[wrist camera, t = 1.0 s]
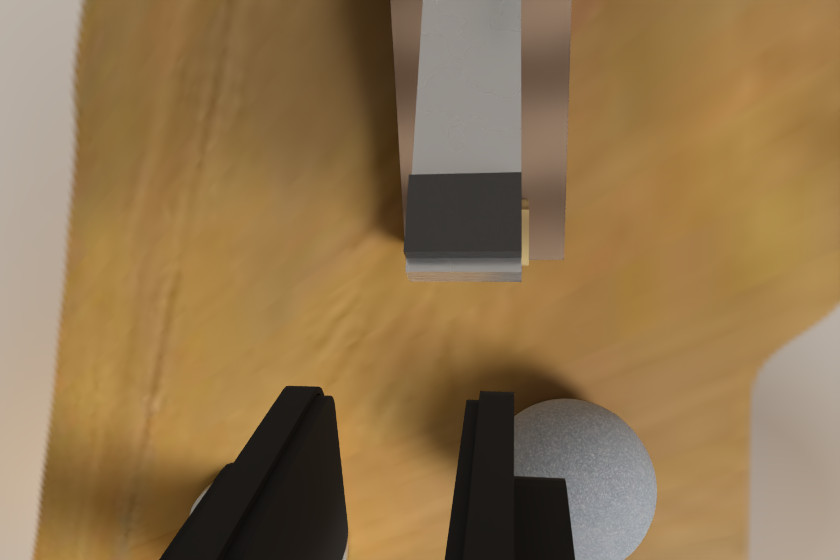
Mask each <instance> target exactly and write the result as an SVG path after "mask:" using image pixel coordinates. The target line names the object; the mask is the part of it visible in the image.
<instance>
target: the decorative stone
mask: <svg viewBox="0 0 840 560" xmlns="http://www.w3.org/2000/svg"><path fill="white" fill-rule="evenodd" d="M514 476H526V477H548V478H565V480H566V486H567V494H568V502H569V511H570V519H571V528H572V536H573V545H574V553H575V560H624V559H625V558H626V557H628V556H629V555H630V554H631V553H632V552H633V551H634V550H635V549H636V548H637V547H638V545H639V544H640V543H641V541H642V540H643V538H644V536H645V535H646V533H647V531H648V529H649V527H650V524H651V522H652V519H653V516H654V512H655V507H656V500H657V485H656V477H655V472H654V468H653V465H652V462H651V459H650V457H649V454H648V452H647V450H646V448H645V447H644V445H643V443H642V442H641V440H640V439H639V437H638V436H637V435H636V433H635V432H634V431H633V430H632V429H631V428H630V427H629V426H628V425H627V424H626V423H625V422H624V421H623V420H622V419H621V418H620V417H618V416H617V415H615V414H614V413H612V412H611V411H609V410H607V409H605V408H603V407H601V406H599V405H596V404H594V403H590V402H587V401H583V400H577V399H553V400H547V401H543V402H540V403H537V404H534V405H532V406H530V407H528V408H526V409H524V410H523V411H521V412H519V413H518V414H517V415H515V416H514Z"/></svg>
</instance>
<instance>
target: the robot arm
mask: <svg viewBox="0 0 840 560" xmlns="http://www.w3.org/2000/svg"><path fill="white" fill-rule="evenodd" d="M348 551H349V547H348V523H347V513H346V504H345V495H344V486H343V476H342V467H341V458H340V448H339V439H338V430H337V421H336V411H335V403H334V399H333V397H332V396H324V393H323V390H322V389H321V388H320V387H309V386H286V387H285V388H284V389H283V391H282V392H281V394H280V395H279V397H278V398H277V400H276V401H275V403H274V404H273V405H272V407H271V408H270V410H269V411H268V413H267V414H266V416H265V417H264V419H263V420H262V422H261V423H260V425H259V426H258V428H257V429H256V431H255V432H254V434H253V435H252V437H251V438H250V440H249V441H248V442H247V444H246V445H245V447H244V448H243V450H242V451H241V453H240V454H239V456H238V457H237V459H236V460H235V462H234V463H230V464H227V465H226V466H225V467H224V468H223V469H222V470H221V471H220V473H219V474H218V476H217V477H216V478H215V480H214V481H213V482H212V483H211V484H210V485H208V486H207V487H206V488H205V489H204V491H203V492H202V493H201V494H200V496H199V497H198V498H197V500H196V501H195V503H194V505H193V506H192V508H191V511H190V515H189V517H188V519H187V520H186V522H185V523H184V525H183V526H182V528H181V529H180V530H179V532H178V533H177V535H176V536H175V538H174V539H173V541H172V542H171V543H170V545H169V546H168V548H167V549H166V551H165V552H164V554H163V555H162V556H161V558H160V559H159V560H347V559H348ZM445 560H575V553H574V545H573V536H572V528H571V519H570V511H569V502H568V494H567V486H566V480H565V478H548V477H526V476H514V392H491V391H480V398H479V400H467V402H466V408H465V416H464V423H463V430H462V438H461V445H460V452H459V460H458V467H457V474H456V482H455V489H454V496H453V504H452V511H451V518H450V526H449V533H448V540H447V547H446V555H445Z"/></svg>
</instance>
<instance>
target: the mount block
mask: <svg viewBox="0 0 840 560" xmlns="http://www.w3.org/2000/svg"><path fill="white" fill-rule="evenodd" d="M571 2H572V0H521V172H522V265H529V260H564V239H565V205H566V171H567V137H568V104H569V70H570V36H571ZM390 3H391V19H392V36H393V53H394V70H395V87H396V104H397V121H398V138H399V155H400V172H401V189H402V206H403V222H404V239H405V224H406V208H407V193H408V178H409V175H412V163H413V147H414V132H415V116H416V100H417V85H418V69H419V54H420V38H421V22H422V7H423V0H390Z"/></svg>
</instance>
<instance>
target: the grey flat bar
mask: <svg viewBox="0 0 840 560" xmlns="http://www.w3.org/2000/svg"><path fill="white" fill-rule="evenodd" d="M404 254H405V256H406V274H407V276H408V278H409V281H424V282H521V274H522V172H521V0H423V7H422V22H421V38H420V54H419V69H418V85H417V100H416V116H415V132H414V147H413V163H412V175H409V178H408V193H407V208H406V224H405V239H404Z"/></svg>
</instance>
